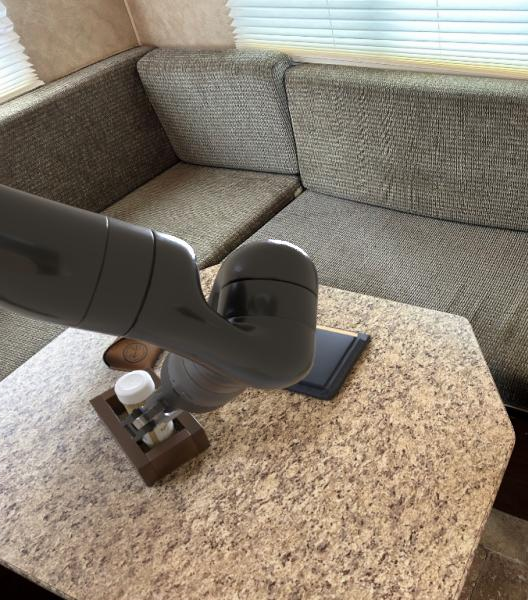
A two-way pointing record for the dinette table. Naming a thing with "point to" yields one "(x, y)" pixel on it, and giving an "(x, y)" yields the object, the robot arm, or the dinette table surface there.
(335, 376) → the wallet
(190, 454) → the socket block
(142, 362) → the sunglasses case
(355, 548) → the dinette table surface
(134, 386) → the sprinkles bottle
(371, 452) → the dinette table surface
